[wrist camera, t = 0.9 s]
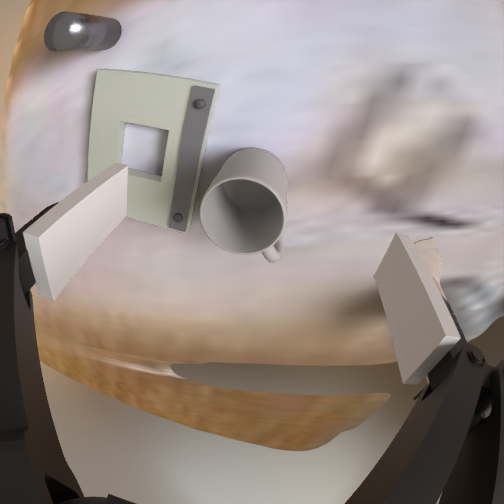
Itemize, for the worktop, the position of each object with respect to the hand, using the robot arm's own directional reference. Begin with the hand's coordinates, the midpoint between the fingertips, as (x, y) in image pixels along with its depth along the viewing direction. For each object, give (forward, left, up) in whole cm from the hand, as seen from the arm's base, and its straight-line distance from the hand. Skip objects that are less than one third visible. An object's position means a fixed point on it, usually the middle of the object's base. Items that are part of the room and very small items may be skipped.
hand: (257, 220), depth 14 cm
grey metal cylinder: (-9, -25, -24) cm, 36 cm away
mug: (+8, 0, -25) cm, 26 cm away
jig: (+6, -16, -24) cm, 30 cm away
